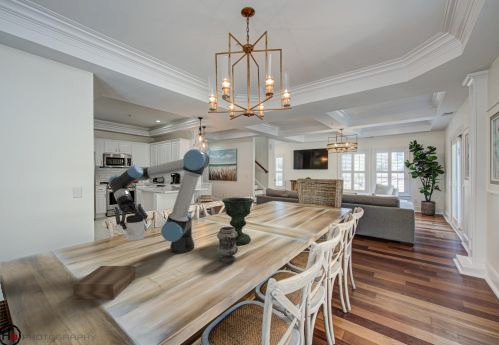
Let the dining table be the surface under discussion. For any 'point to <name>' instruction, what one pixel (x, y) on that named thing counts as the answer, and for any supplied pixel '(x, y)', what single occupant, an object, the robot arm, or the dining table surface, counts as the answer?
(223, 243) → the apothecary jar
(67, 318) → the dining table surface
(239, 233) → the goblet
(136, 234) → the jar
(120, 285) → the walnut block
